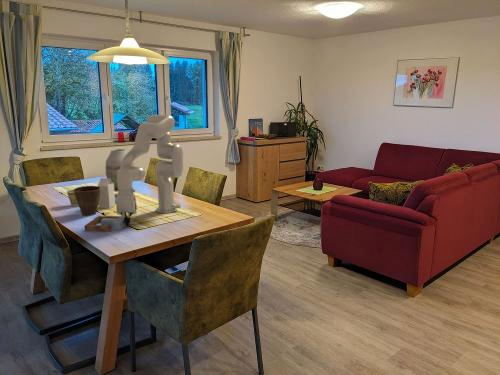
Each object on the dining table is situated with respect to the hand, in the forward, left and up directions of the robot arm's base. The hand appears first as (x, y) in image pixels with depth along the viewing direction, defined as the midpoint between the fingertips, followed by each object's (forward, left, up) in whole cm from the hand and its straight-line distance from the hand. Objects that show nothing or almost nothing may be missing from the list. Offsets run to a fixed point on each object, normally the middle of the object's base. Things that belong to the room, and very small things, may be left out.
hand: (127, 224), depth 218 cm
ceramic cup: (+46, -41, -2) cm, 62 cm away
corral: (+13, 0, -1) cm, 13 cm away
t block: (+8, 0, -2) cm, 8 cm away
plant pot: (+31, -22, -2) cm, 38 cm away
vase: (+36, -92, -2) cm, 99 cm away
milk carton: (+26, -38, -2) cm, 46 cm away
